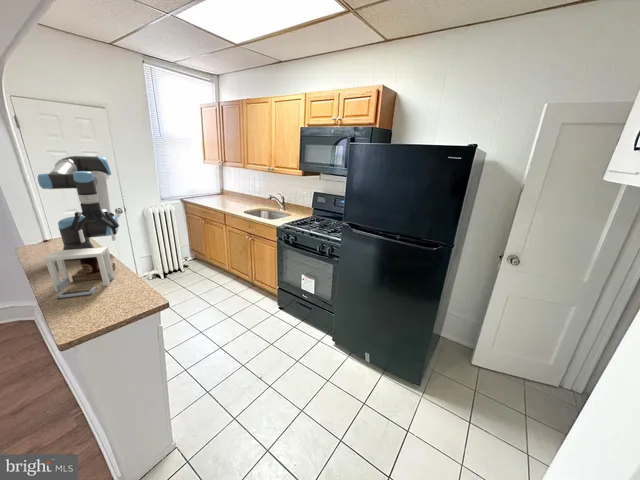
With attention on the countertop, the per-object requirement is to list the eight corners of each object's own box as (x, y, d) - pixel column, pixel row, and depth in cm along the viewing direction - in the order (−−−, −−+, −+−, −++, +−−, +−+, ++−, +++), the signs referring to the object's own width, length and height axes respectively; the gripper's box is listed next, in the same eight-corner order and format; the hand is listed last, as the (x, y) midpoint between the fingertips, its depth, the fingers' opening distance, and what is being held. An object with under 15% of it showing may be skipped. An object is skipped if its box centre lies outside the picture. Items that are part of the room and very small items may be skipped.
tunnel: (65, 282, 125) (55, 250, 120) (114, 277, 132) (107, 246, 127) (55, 291, 117) (44, 257, 112) (108, 285, 124) (100, 253, 119)
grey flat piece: (62, 293, 116) (61, 290, 115) (96, 289, 120) (95, 287, 120) (56, 299, 111) (56, 296, 111) (91, 295, 116) (91, 292, 115)
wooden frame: (90, 265, 144) (86, 248, 141) (120, 262, 149) (116, 246, 146) (73, 281, 126) (67, 262, 123) (107, 277, 131) (103, 259, 128)
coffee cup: (90, 281, 127) (83, 257, 123) (79, 278, 129) (72, 254, 125) (109, 274, 135) (103, 251, 131) (98, 271, 137) (92, 248, 133)
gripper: (54, 204, 126) (66, 245, 133) (116, 203, 135) (124, 241, 142) (62, 201, 133) (73, 240, 140) (121, 200, 142) (128, 237, 149)
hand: (99, 241), depth 141 cm, fingers open, 13 cm apart
